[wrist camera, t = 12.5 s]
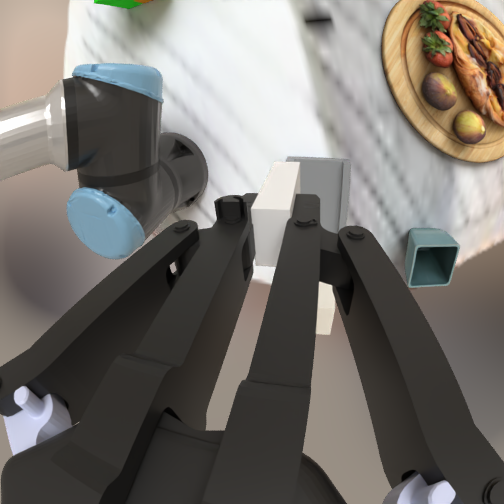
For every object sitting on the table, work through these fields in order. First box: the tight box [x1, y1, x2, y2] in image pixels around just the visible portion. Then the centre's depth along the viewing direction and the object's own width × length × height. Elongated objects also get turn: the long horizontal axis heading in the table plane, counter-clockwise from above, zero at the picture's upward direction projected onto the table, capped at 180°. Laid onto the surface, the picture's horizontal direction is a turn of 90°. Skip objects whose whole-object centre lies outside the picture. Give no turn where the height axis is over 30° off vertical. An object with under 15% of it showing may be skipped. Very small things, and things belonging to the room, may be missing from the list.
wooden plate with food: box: [381, 0, 504, 163], centre depth 24 cm, size 32×32×8 cm
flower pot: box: [405, 228, 460, 288], centre depth 42 cm, size 9×9×9 cm
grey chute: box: [286, 157, 351, 234], centre depth 48 cm, size 10×24×3 cm, turn 4°
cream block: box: [316, 282, 335, 335], centre depth 46 cm, size 7×6×15 cm
